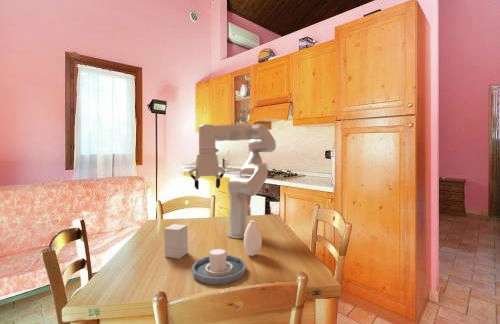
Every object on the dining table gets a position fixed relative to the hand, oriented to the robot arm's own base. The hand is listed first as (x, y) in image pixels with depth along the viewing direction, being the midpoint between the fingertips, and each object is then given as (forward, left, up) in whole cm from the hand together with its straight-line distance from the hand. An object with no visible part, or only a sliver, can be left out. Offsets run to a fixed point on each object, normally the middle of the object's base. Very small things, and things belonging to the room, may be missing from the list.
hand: (207, 188), depth 125 cm
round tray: (+2, +25, -28) cm, 38 cm away
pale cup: (+2, +25, -28) cm, 37 cm away
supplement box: (+15, +2, -28) cm, 32 cm away
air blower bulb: (-16, +16, -28) cm, 36 cm away
